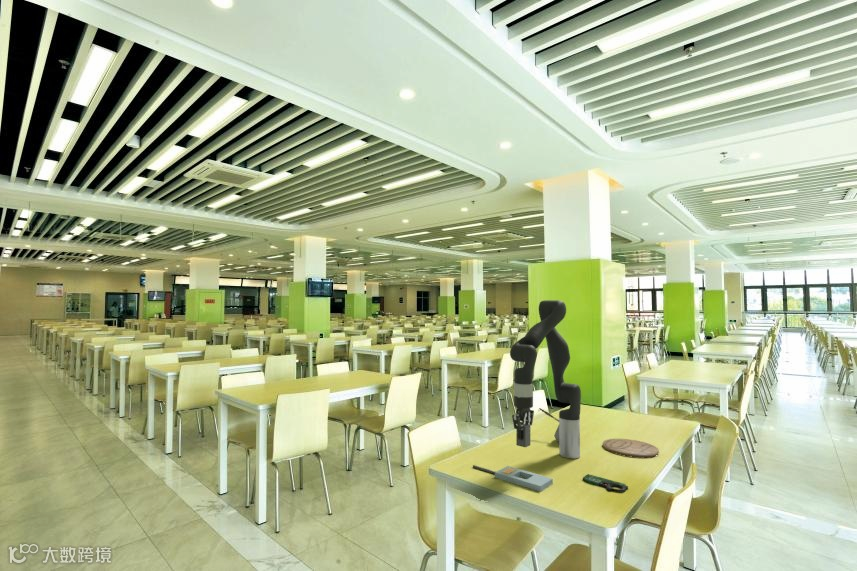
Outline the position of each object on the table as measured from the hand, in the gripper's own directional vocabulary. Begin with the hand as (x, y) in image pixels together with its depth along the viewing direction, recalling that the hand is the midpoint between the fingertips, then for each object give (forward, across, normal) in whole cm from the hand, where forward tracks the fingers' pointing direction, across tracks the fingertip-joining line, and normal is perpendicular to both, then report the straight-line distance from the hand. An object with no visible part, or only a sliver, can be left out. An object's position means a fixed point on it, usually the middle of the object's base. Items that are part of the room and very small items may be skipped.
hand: (523, 438), depth 169 cm
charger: (+3, 0, 0) cm, 3 cm away
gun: (+17, -18, +25) cm, 35 cm away
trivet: (+17, -72, +19) cm, 76 cm away
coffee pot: (+17, -61, -14) cm, 65 cm away
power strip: (+17, 0, -7) cm, 18 cm away
